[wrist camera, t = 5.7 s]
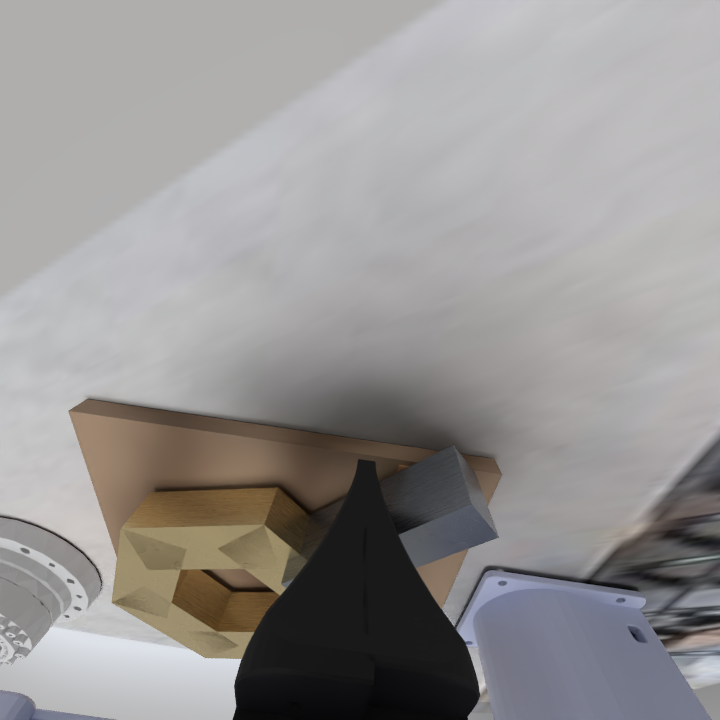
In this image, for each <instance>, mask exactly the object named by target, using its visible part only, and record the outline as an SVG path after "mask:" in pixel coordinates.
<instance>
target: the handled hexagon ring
mask: <svg viewBox="0 0 720 720" xmlns="http://www.w3.org/2000/svg"><path fill="white" fill-rule="evenodd" d="M379 484H380V488H381V491H382V494H383V497H384V500H385V503H386V506H387V508H388V511H389V514H390V516H391V519H392V521H393V524H394V526H395V528H396V531H397V533H398V535H399V537H400V539H401V541H402V543H403V545H404V547H405V549H406V551H407V553H408V555H409V557H410V559H411V561H412V563H413V564H414V566H415V568H418V567H420V566H423V565H426V564H428V563H431V562H434V561H437V560H439V559H442V558H445V557H447V556H450V555H453V554H455V553H458V552H461V551H463V550H466V549H469V548H471V547H474V546H477V545H479V544H482V543H485V542H487V541H490V540H493V539H495V538H498V537H499V536H498V534H497V531H496V528H495V525H494V523H493V520H492V517H491V514H490V511H489V509H488V506H487V503H486V500H485V498H484V495H483V492H482V489H481V486H480V484H479V481H478V478H477V475H476V473H475V472H474V471H473V470H472V468H471V467H470V466H469V464H468V463H467V462H466V460H465V459H464V458H463V457H462V455H461V454H460V453H459V451H458V450H457V449H456V448H455V446H454V445H452V446H450V447H448V448H446V449H444V450H442V451H440V452H438V453H436V454H434V455H432V456H430V457H428V458H426V459H424V460H422V461H420V462H418V463H416V464H414V465H412V466H409V467H407V468H405V469H403V470H401V471H399V472H397V473H395V474H393V475H391V476H389V477H387V478H385V479H383V480H381V481H379ZM345 499H346V498H345ZM345 499H343V500H341V501H339V502H336V503H334V504H332V505H330V506H328V507H326V508H324V509H322V510H320V511H318V512H316V513H314V514H312V515H310V516H309V515H308V514H307V513H306V512H305V511H304V510H302V509H301V508H300V507H299V506H298V505H297V504H296V503H295V502H294V501H293V500H291V499H290V498H289V497H288V496H287V495H286V494H285V493H284V492H283V491H281V490H280V489H279V488H278V487H275V488H250V489H224V490H198V491H173V492H150V494H149V495H148V496H147V497H146V498H145V500H144V501H143V502H142V503H141V505H140V506H139V507H138V508H137V509H136V511H135V512H134V513H133V514H132V515H131V517H130V518H129V519H128V520H127V522H126V523H125V524H124V525H123V526H122V528H121V531H120V539H119V547H118V555H117V563H116V572H115V580H114V588H113V596H112V603H113V604H115V605H116V606H118V607H120V608H122V609H123V610H125V611H127V612H128V613H130V614H132V615H133V616H135V617H137V618H138V619H140V620H142V621H144V622H145V623H147V624H149V625H150V626H152V627H154V628H155V629H157V630H159V631H160V632H162V633H164V634H166V635H167V636H169V637H171V638H172V639H174V640H176V641H177V642H179V643H181V644H183V645H184V646H186V647H188V648H189V649H191V650H193V651H195V652H196V653H198V654H199V655H201V656H203V657H205V658H230V659H231V658H233V659H242V657H243V655H244V652H245V650H246V647H247V645H248V643H249V641H250V639H251V637H252V635H253V634H254V632H255V630H256V628H257V626H258V625H259V623H260V621H261V620H262V618H263V616H264V615H265V613H266V611H267V610H268V609H269V608H270V606H271V605H272V604H273V603H274V602H275V601H276V600H277V599H278V597H279V596H280V595H281V594H282V593H283V592H284V591H285V589H286V588H287V587H288V586H289V585H290V583H291V582H292V581H293V580H294V578H295V577H296V576H297V575H298V573H299V572H300V571H301V569H302V568H303V567H304V566H305V564H306V563H307V562H308V560H309V559H310V557H311V556H312V555H313V553H314V552H315V550H316V549H317V547H318V546H319V544H320V543H321V541H322V540H323V538H324V537H325V535H326V533H327V532H328V530H329V529H330V527H331V525H332V523H333V522H334V520H335V518H336V516H337V514H338V512H339V511H340V509H341V507H342V505H343V503H344V501H345ZM200 569H245V570H247V571H248V572H249V573H251V574H252V575H253V576H255V577H256V578H257V579H259V580H260V581H261V582H263V583H264V584H265V585H267V586H268V587H269V588H271V589H272V590H273V591H275V592H231V591H230V590H228V589H227V588H225V587H224V586H223V585H221V584H220V583H218V582H217V581H215V580H214V579H213V578H211V577H210V576H208V575H207V574H206V573H204V572H203V571H201V570H200Z"/></svg>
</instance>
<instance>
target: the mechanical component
mask: <svg viewBox="0 0 720 720" xmlns="http://www.w3.org/2000/svg"><path fill="white" fill-rule="evenodd" d="M100 588H101V581H100V578H99V575H98V573H97V571H96V569H95V567H94V566H93V565H92V564H91V563H90V562H89V560H88V559H87V558H86V557H85V556H84V555H83V554H82V553H81V552H79V551H78V550H77V549H75V548H74V547H73V546H71V545H70V544H69V543H67V542H66V541H64V540H62V539H60V538H59V537H57V536H55V535H53V534H52V533H49V532H47V531H45V530H43V529H40V528H38V527H36V526H33V525H30V524H27V523H24V522H21V521H17V520H12V519H7V518H1V517H0V666H1V664H2V663H5V664H7V665H12V664H13V663H14V661H15V660H16V659H17V658H25V657H26V656H27V655H28V654H29V653H30V652H31V650H32V649H33V648H34V647H35V646H36V645H37V643H38V642H39V641H40V640H41V639H42V637H43V636H44V635H45V634H46V633H47V631H48V630H49V628H50V627H51V626H52V625H53V623H61V622H67V621H72V620H74V619H77V618H79V617H81V616H83V615H84V613H85V612H86V611H87V609H88V608H89V606H90V605H91V604H92V602H93V601H94V599H95V598H96V596H97V595H98V594H99V592H100Z"/></svg>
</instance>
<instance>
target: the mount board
mask: <svg viewBox="0 0 720 720" xmlns="http://www.w3.org/2000/svg"><path fill="white" fill-rule="evenodd" d="M69 414H70V417H71V420H72V423H73V426H74V429H75V432H76V435H77V438H78V441H79V444H80V447H81V450H82V453H83V456H84V459H85V462H86V465H87V469H88V472H89V475H90V478H91V481H92V484H93V487H94V490H95V493H96V496H97V499H98V502H99V505H100V508H101V511H102V514H103V517H104V520H105V523H106V526H107V529H108V532H109V535H110V538H111V541H112V544H113V547H114V550H115V553H116V556H117V555H118V547H119V539H120V531H121V528H122V526H123V525H124V524H125V523H126V522H127V520H128V519H129V518H130V517H131V515H132V514H133V513H134V512H135V511H136V509H137V508H138V507H139V506H140V505H141V503H142V502H143V501H144V500H145V498H146V497H147V496H148V495H149V494H150V492H173V491H198V490H224V489H250V488H275V487H278V488H279V489H280V490H281V491H283V492H284V493H285V494H286V495H287V496H288V497H289V498H290V499H291V500H293V501H294V502H295V503H296V504H297V505H298V506H299V507H300V508H301V509H302V510H304V511H305V512H306V513H307V514H308V515H309V516H310V515H312V514H314V513H316V512H318V511H320V510H322V509H324V508H326V507H328V506H330V505H332V504H334V503H336V502H339V501H341V500H343V499H345V498H346V496H347V494H348V492H349V489H350V487H351V485H352V482H353V479H354V476H355V473H356V468H357V462H358V459H362V460H369V461H375V462H376V472H377V476H378V480H379V481H381V480H383V479H385V478H387V477H389V476H391V475H393V474H395V473H397V472H399V471H401V470H403V469H405V468H407V467H409V466H412V465H414V464H416V463H418V462H420V461H422V460H424V459H426V458H428V457H430V456H432V455H434V454H436V453H438V452H440V451H437V450H430V449H423V448H416V447H409V446H403V445H396V444H389V443H382V442H375V441H369V440H362V439H355V438H348V437H341V436H334V435H328V434H321V433H314V432H307V431H300V430H294V429H287V428H280V427H273V426H266V425H260V424H253V423H246V422H239V421H232V420H226V419H219V418H212V417H205V416H198V415H192V414H185V413H178V412H171V411H164V410H157V409H151V408H144V407H137V406H130V405H123V404H117V403H110V402H103V401H96V400H89V399H87V400H85V401H83V402H82V403H80V404H79V405H77V406H76V407H74V408H72V409H71V410H69ZM461 455H462V457H463V458H464V459H465V460H466V462H467V463H468V464H469V466H470V467H471V468H472V470H473V471H474V472H475V473H476V475H477V478H478V481H479V484H480V486H481V489H482V492H483V495H484V498H485V500H486V503H487V506H488V505H489V502H490V500H491V498H492V496H493V493H494V491H495V489H496V487H497V484H498V482H499V480H500V478H501V476H502V474H501V472H500V469H499V467H498V465H497V463H496V461H495V459H491V458H484V457H477V456H471V455H464V454H461ZM467 552H468V549H466V550H463V551H461V552H458V553H455V554H453V555H450V556H447V557H445V558H442V559H439V560H437V561H434V562H431V563H428V564H426V565H423V566H420V567H418V568H416V570H417V571H418V573H419V575H420V576H421V578H422V580H423V581H424V583H425V585H426V586H427V588H428V590H429V591H430V593H431V594H432V596H433V597H434V599H435V600H436V602H437V603H438V605H439V606H440V608H441V609H442V607H443V605H444V603H445V601H446V598H447V596H448V594H449V592H450V590H451V587H452V585H453V583H454V581H455V578H456V576H457V574H458V572H459V569H460V567H461V565H462V563H463V560H464V558H465V556H466V554H467ZM200 570H201V571H203V572H204V573H206V574H207V575H208V576H210V577H211V578H213V579H214V580H215V581H217V582H218V583H220V584H221V585H223V586H224V587H225V588H227V589H228V590H230V591H231V592H275V591H273V590H272V589H271V588H269V587H268V586H267V585H265V584H264V583H263V582H261V581H260V580H259V579H257V578H256V577H255V576H253V575H252V574H251V573H249V572H248V571H247V570H245V569H200Z"/></svg>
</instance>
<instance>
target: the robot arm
mask: <svg viewBox="0 0 720 720" xmlns="http://www.w3.org/2000/svg"><path fill="white" fill-rule="evenodd" d="M645 603H646V599H645V597H644V596H643V594H642V593H640V592H638V591H632V590H625V589H618V588H611V587H605V586H598V585H591V584H584V583H577V582H571V581H564V580H557V579H550V578H543V577H536V576H530V575H523V574H516V573H509V572H502V571H496V570H490V571H487V572H486V573H485V574H484V575H483V577H482V579H481V581H480V583H479V585H478V587H477V589H476V591H475V593H474V595H473V597H472V599H471V601H470V603H469V605H468V607H467V609H466V611H465V613H464V615H463V617H462V619H461V620H460V622H459V624H458V626H457V628H456V629H455V628H454V626H453V625H452V623H451V622H450V621H449V619H448V618H447V616H446V615H445V614H444V612H443V611H442V609H441V608H440V606H439V605H438V603H437V602H436V600H435V599H434V597H433V596H432V594H431V593H430V591H429V590H428V588H427V586H426V585H425V583H424V581H423V580H422V578H421V576H420V575H419V573H418V571H417V570H416V568H415V566H414V564H413V563H412V561H411V559H410V557H409V555H408V553H407V551H406V549H405V547H404V545H403V543H402V541H401V539H400V537H399V535H398V533H397V531H396V528H395V526H394V524H393V521H392V519H391V516H390V514H389V511H388V508H387V506H386V503H385V500H384V497H383V494H382V491H381V488H380V484H379V480H378V476H377V472H376V462H375V461H369V460H362V459H358V462H357V468H356V473H355V476H354V479H353V482H352V485H351V487H350V489H349V492H348V494H347V496H346V499H345V501H344V503H343V505H342V507H341V509H340V511H339V512H338V514H337V516H336V518H335V520H334V522H333V523H332V525H331V527H330V529H329V530H328V532H327V533H326V535H325V537H324V538H323V540H322V541H321V543H320V544H319V546H318V547H317V549H316V550H315V552H314V553H313V555H312V556H311V557H310V559H309V560H308V562H307V563H306V564H305V566H304V567H303V568H302V569H301V571H300V572H299V573H298V575H297V576H296V577H295V578H294V580H293V581H292V582H291V583H290V585H289V586H288V587H287V588H286V589H285V591H284V592H283V593H282V594H281V595H280V596H279V597H278V599H277V600H276V601H275V602H274V603H273V604H272V605H271V606H270V608H269V609H268V610H267V611H266V613H265V615H264V616H263V618H262V620H261V621H260V623H259V625H258V626H257V628H256V630H255V632H254V634H253V635H252V637H251V639H250V641H249V643H248V645H247V647H246V650H245V652H244V655H243V657H242V660H241V663H240V667H239V670H238V674H237V677H236V680H235V685H234V687H235V698H236V710H235V714H234V717H233V720H468V718H467V717H468V715H469V714H470V712H471V711H472V710H473V708H474V707H475V705H476V704H477V702H478V700H479V697H480V692H479V685H478V680H477V677H476V673H475V670H474V666H473V663H472V660H471V657H470V654H469V651H468V648H467V646H469V647H476V648H478V650H479V655H480V660H481V664H482V669H483V673H484V678H485V682H486V687H487V691H488V696H489V700H490V705H491V709H492V714H493V718H494V720H712V719H711V718H710V716H709V715H708V713H707V712H706V710H705V709H704V707H703V705H702V704H701V703H700V701H699V699H698V698H697V696H696V695H695V693H694V692H693V690H692V689H691V687H690V685H689V684H688V682H687V681H686V679H685V678H684V676H683V675H682V673H681V672H680V670H679V669H678V667H677V665H676V664H675V662H674V661H673V659H672V658H671V656H670V655H669V653H668V652H667V650H666V649H665V647H664V645H663V644H662V642H661V641H660V639H659V638H658V636H657V635H656V633H655V632H654V630H653V629H652V627H651V625H650V624H649V622H648V621H647V619H646V618H645V616H644V615H643V613H642V612H641V610H640V609H641V608H642V607H643V606H644V605H645ZM0 720H114V719H107V718H100V717H92V716H85V715H78V714H71V713H64V712H57V711H49V710H42V709H36V706H35V703H34V702H33V700H32V699H31V698H29V697H28V696H25V695H23V694H20V693H16V692H10V691H3V690H0Z"/></svg>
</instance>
